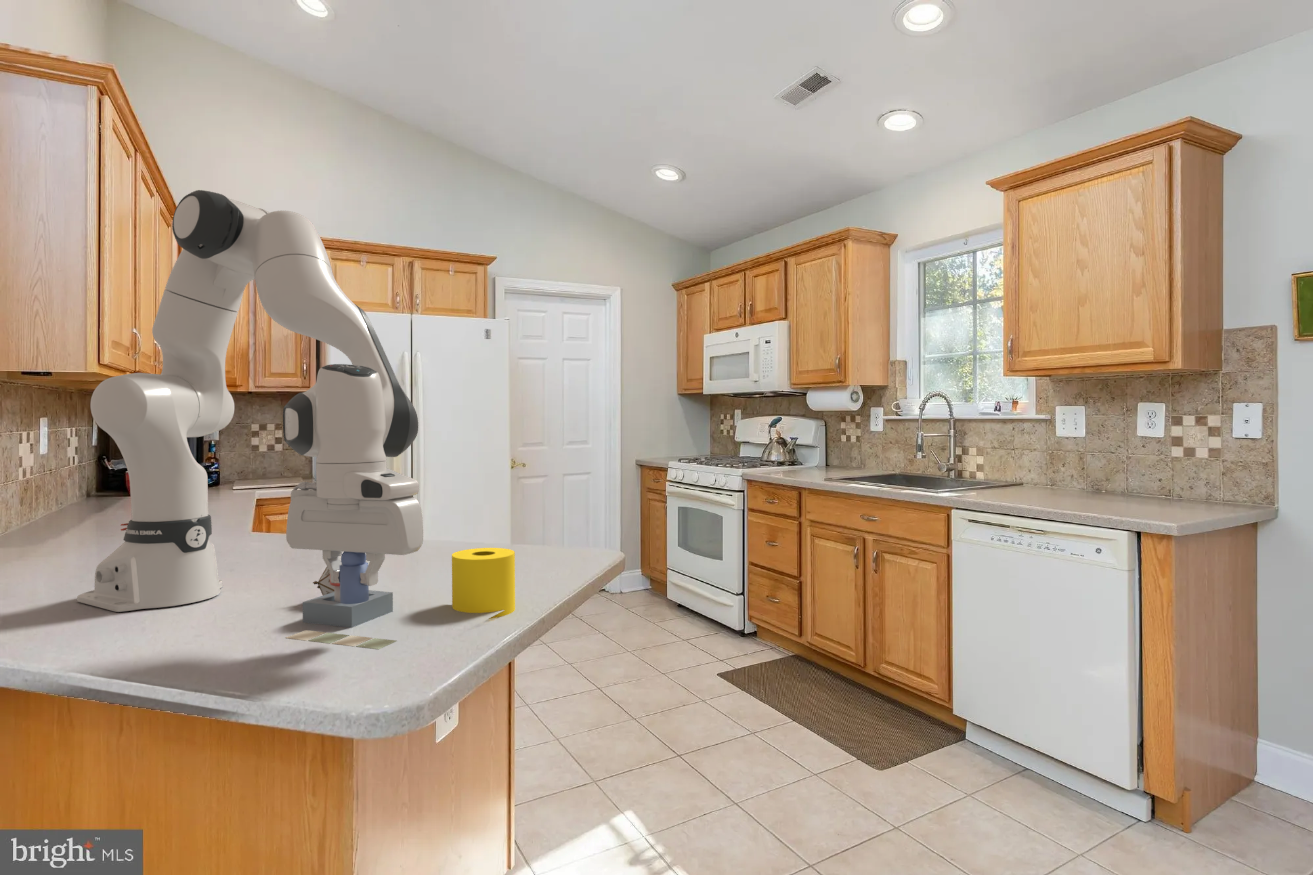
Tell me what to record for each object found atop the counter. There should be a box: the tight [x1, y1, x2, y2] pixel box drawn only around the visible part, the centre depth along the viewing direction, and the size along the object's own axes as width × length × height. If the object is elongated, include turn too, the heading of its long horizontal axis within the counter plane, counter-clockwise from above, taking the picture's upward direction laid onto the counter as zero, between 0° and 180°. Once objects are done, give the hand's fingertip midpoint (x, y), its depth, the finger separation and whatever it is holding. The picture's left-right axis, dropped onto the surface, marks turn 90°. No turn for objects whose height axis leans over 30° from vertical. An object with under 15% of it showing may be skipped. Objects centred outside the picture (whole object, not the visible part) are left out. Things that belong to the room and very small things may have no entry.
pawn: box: [339, 552, 370, 604], centre depth 96 cm, size 4×4×7 cm
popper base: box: [302, 589, 394, 629], centre depth 108 cm, size 9×9×4 cm
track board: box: [285, 629, 397, 650], centre depth 97 cm, size 16×8×1 cm, turn 72°
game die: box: [312, 566, 334, 596], centre depth 118 cm, size 9×8×10 cm
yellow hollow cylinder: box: [451, 547, 516, 619], centre depth 115 cm, size 10×10×9 cm
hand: (354, 583), depth 96 cm, fingers closed on pawn, 4 cm apart
